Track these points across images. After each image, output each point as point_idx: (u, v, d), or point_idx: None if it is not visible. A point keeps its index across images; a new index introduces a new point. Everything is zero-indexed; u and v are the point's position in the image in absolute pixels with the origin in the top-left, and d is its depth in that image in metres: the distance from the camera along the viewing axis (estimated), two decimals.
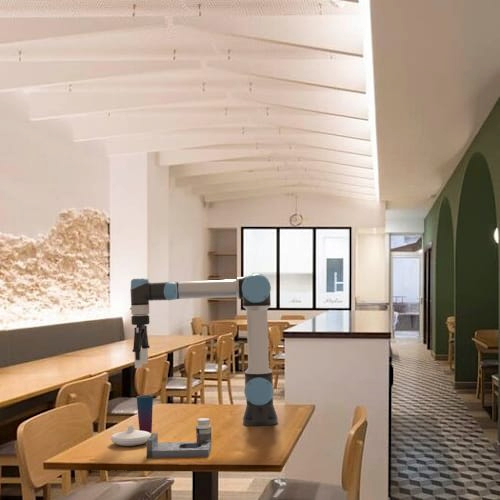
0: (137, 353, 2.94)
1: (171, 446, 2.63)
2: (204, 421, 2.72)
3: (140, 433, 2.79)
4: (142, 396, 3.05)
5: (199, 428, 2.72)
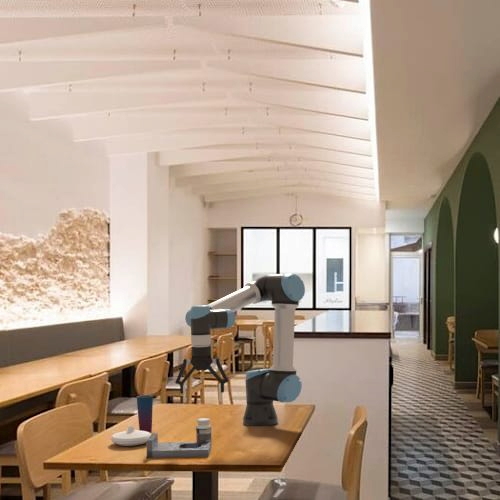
0: (180, 386, 2.75)
1: (171, 446, 2.63)
2: (204, 421, 2.72)
3: (140, 433, 2.79)
4: (142, 396, 3.05)
5: (199, 428, 2.72)
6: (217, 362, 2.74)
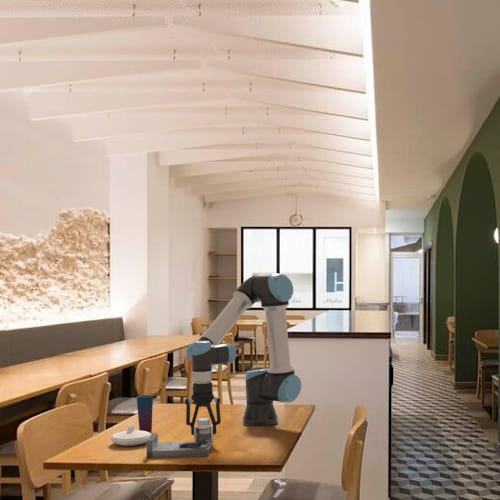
0: (191, 427, 2.75)
1: (171, 446, 2.63)
2: (204, 421, 2.72)
3: (140, 433, 2.79)
4: (142, 396, 3.05)
5: (199, 428, 2.72)
6: (217, 402, 2.74)
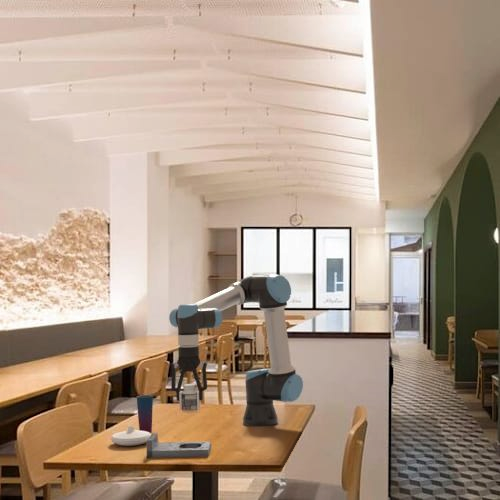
0: None
1: (171, 446, 2.63)
2: (190, 386, 2.63)
3: (140, 433, 2.79)
4: (142, 396, 3.05)
5: (185, 393, 2.63)
6: (204, 366, 2.64)
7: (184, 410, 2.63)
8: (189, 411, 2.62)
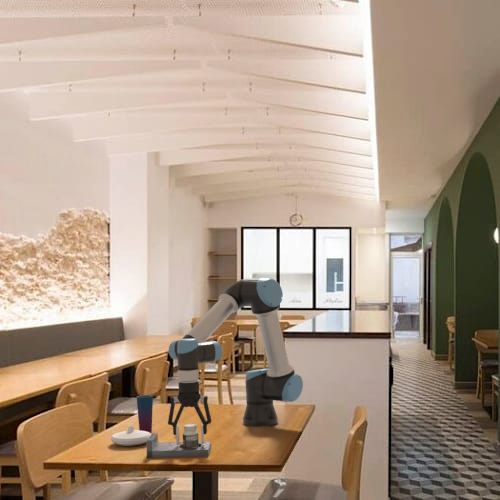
0: (173, 427, 2.64)
1: (171, 446, 2.63)
2: (191, 427, 2.62)
3: (140, 433, 2.79)
4: (142, 396, 3.05)
5: (185, 434, 2.61)
6: (205, 400, 2.63)
7: None
8: None
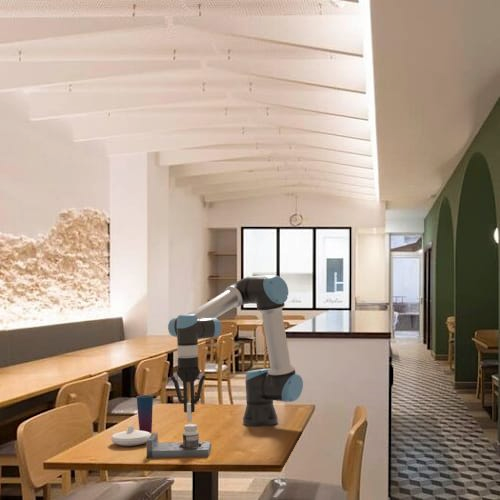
0: (184, 404, 2.64)
1: (171, 446, 2.63)
2: (191, 427, 2.62)
3: (140, 433, 2.79)
4: (142, 396, 3.05)
5: (186, 434, 2.61)
6: (202, 379, 2.63)
7: None
8: None
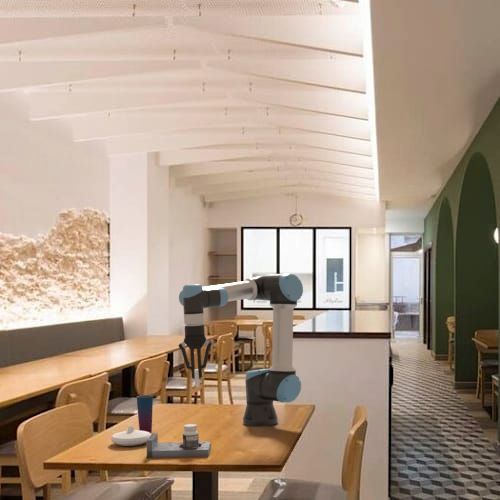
0: None
1: (171, 446, 2.63)
2: (191, 427, 2.62)
3: (140, 433, 2.79)
4: (142, 396, 3.05)
5: (186, 434, 2.61)
6: (208, 346, 2.74)
7: None
8: None
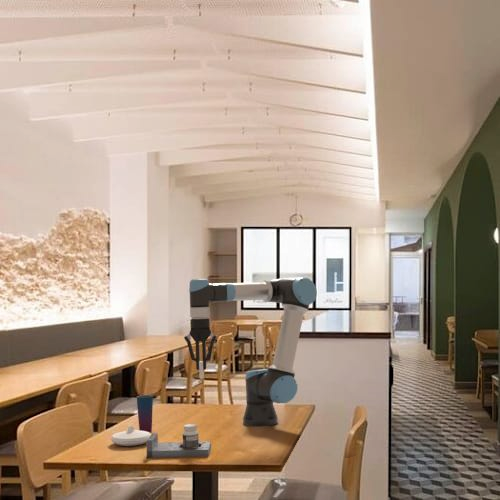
0: (196, 363, 2.83)
1: (171, 446, 2.63)
2: (191, 427, 2.61)
3: (140, 433, 2.79)
4: (142, 396, 3.05)
5: (186, 435, 2.61)
6: (213, 338, 2.83)
7: None
8: None
